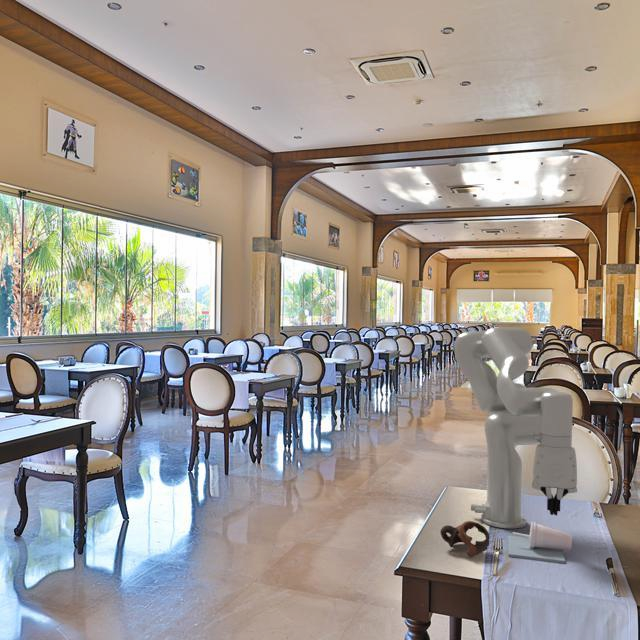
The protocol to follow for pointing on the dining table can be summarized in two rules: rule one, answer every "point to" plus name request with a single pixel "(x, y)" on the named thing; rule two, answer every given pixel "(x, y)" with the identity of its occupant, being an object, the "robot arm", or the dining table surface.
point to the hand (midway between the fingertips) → (553, 513)
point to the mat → (532, 550)
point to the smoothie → (547, 537)
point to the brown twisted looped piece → (466, 537)
